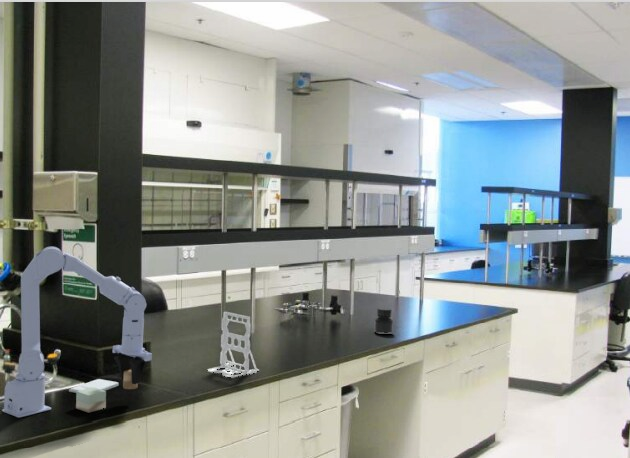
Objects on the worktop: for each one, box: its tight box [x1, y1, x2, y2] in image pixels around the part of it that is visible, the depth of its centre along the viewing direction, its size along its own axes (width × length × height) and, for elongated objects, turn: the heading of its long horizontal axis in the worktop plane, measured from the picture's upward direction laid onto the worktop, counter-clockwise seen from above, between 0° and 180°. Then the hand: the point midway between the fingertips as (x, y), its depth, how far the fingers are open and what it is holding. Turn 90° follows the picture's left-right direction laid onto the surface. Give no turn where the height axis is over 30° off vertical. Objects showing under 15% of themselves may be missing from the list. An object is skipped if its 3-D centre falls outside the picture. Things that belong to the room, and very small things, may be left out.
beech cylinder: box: [122, 369, 139, 390], centre depth 180 cm, size 4×4×4 cm
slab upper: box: [75, 387, 107, 405], centre depth 174 cm, size 6×6×2 cm
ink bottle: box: [373, 307, 394, 333], centre depth 304 cm, size 10×9×12 cm
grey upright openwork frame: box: [207, 311, 260, 379], centre depth 220 cm, size 14×14×20 cm
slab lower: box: [75, 399, 107, 413], centre depth 174 cm, size 6×6×2 cm
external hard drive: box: [68, 378, 119, 394], centre depth 193 cm, size 2×8×12 cm
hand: (130, 381), depth 180 cm, fingers closed on beech cylinder, 4 cm apart
